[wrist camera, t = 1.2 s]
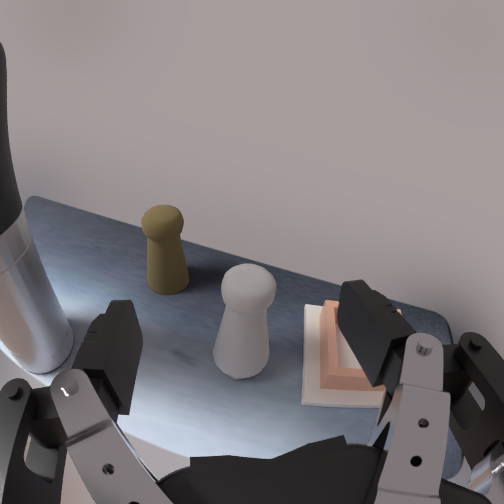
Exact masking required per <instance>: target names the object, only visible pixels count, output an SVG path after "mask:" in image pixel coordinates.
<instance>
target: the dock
mask: <svg viewBox="0 0 504 504" xmlns="http://www.w3.org/2000/svg"><path fill="white" fill-rule="evenodd" d="M338 305H339V302H337V301H329V300H325V303H324V305H323V307H322V306H315V305H308V304H305V307H304V348H303V375H302V396H301V405H309V406H323V407H343V408H380V405H381V402H382V398H383V394H384V392H385V390H386V387H385V386H384V384H383V385H380V386H377V387H372V386H371V384H370V382H369V380H368V378H367V377H366V375H365V373H364V371H363V369H362V368H361V366H360V364H359V362H358V361H357V359H356V357H355V355H354V354H353V352H352V350H351V348H350V347H349V345H348V343H347V341H346V340H345V338H344V336H343V334H342V333H341V331H340V329H339V327H338V323H337V311H338ZM397 310H398V312H399V313H400V314H401V311H400V309H397ZM401 315H402V314H401Z"/></svg>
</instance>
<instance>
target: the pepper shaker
mask: <svg viewBox="0 0 504 504" xmlns="http://www.w3.org/2000/svg"><path fill="white" fill-rule="evenodd" d="M183 224H184V220H183V217H182V214H181V212H180V211H179V210H178V209H177V208H176V207H173V206H170V205H158V206H154V207H152V208H150V209H148V210H147V211H146V212H145V213H144V216H143V217H142V230H143V232H144V234H145V236H146V237H147V281H148V286H149V287H150V289H151V290H153V291H154V292H155V293H158V294H161V295H171V294H176V293H178V292H181V291H182V290H183V289H185V288H186V287H187V285H188V283H189V274H188V270H187V265H186V261H185V256H184V252H183V247H182V242H181V238H180V233H181V232H182V228H183Z"/></svg>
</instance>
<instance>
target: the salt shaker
mask: <svg viewBox="0 0 504 504" xmlns="http://www.w3.org/2000/svg"><path fill="white" fill-rule="evenodd" d="M275 291H276V281H275V279H274V277H273V275H272V274H271V273H269V272H268V271H267V270H266V269H264V268H263V267H261V266H258V265H255V264H241V265H237V266H234V267H232V268H231V269H230V270H228V271H227V272H226V273H225V275H224V278H223V281H222V285H221V293H222V297H223V301H224V303H225V304H226V308H225V311H224V314H223V318H222V321H221V325H220V328H219V331H218V335H217V338H216V342H215V345H214V348H213V351H212V352H213V356H214V360H215V364H216V365H217V366H218V367H219V369H220V370H221V371H222V372H223V373H225V374H227V375H229V376H230V377H232V378H233V379H235V380H238V379H243V378H249V377H253V376H255V375H257V374H259V373H260V372H261V371H262V369H263V368H264V367H265V366H266V364H267V363H268V358H269V353H270V350H269V335H268V321H267V308H268V307H269V306H270V305H271V304H272V302H273V300H274V297H275Z"/></svg>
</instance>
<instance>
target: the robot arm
mask: <svg viewBox="0 0 504 504" xmlns="http://www.w3.org/2000/svg"><path fill="white" fill-rule="evenodd" d="M337 323H338V327H339V329H340V331H341V333H342V334H343V336H344V338H345V340H346V341H347V343H348V345H349V347H350V348H351V350H352V352H353V354H354V355H355V357H356V359H357V361H358V362H359V364H360V366H361V368H362V369H363V371H364V373H365V375H366V377H367V378H368V380H369V382H370V384H371V386H372V387H377V386H380V385H383V384H384V386H385V387H386V390H385V392H384V394H383V398H382V402H381V405H380V409H379V413H378V416H377V419H376V423H375V426H374V429H373V432H372V435H371V437H370V439H369V441H368V443H367V445H362V444H347V443H346V440H345V438H344V435H342V436H338V437H334V438H330V439H326V440H322V441H318V442H314V443H309V444H306V445H304V446H302V447H300V448H297V449H295V450H293V451H290V452H288V453H286V454H283V455H281V456H278V457H276V458H273V459H259V458H248V457H239V456H231V455H225V456H207V457H190V466H189V467H185V468H182V469H179V470H176V471H174V472H172V473H170V474H168V475H166V476H165V477H163V478H161V479H160V480H159V479H158V478H157V477H156V476H155V475H154V473H153V472H152V471H151V470H150V469H149V468H148V466H147V465H146V464H145V462H144V461H143V460H142V459H141V457H140V456H139V454H138V453H137V452H136V450H135V449H134V448H133V446H132V445H131V443H130V442H129V440H128V439H127V437H126V436H125V435H124V433H123V431H122V430H121V428H120V427H119V425H118V424H117V418H118V414H120V415H129V412H130V406H131V401H132V395H133V390H134V385H135V379H136V374H137V370H138V365H139V360H140V356H141V351H142V346H143V339H142V332H141V329H140V326H139V322H138V319H137V316H136V312H135V309H134V305H133V303H132V301H131V300H112V301H111V302H110V304H109V306H108V309H107V311H106V313H105V314H100V315H99V316H98V317H97V318H96V319H95V320H94V321H93V322H92V323H91V325H90V327H89V329H88V331H87V334H86V336H85V338H84V342H82V345H81V347H80V349H79V351H78V354H77V356H76V358H75V361H74V363H73V366H72V368H71V369H69V370H66V371H63V372H61V373H60V374H58V375H57V376H56V377H55V378H54V380H53V381H52V383H51V386H48V387H43V388H36V389H32V388H31V386H30V385H29V383H28V382H27V381H25V380H24V379H21V378H17V379H13V380H11V381H9V382H7V383H6V384H5V385H4V386H3V388H2V389H1V391H0V504H60V501H61V490H62V482H63V474H64V467H65V460H66V454H67V450H68V452H69V455H70V457H71V459H72V461H73V463H74V465H75V467H76V469H77V471H78V473H79V475H80V477H81V478H82V481H83V482H84V484H85V486H86V488H87V490H88V491H89V493H90V495H91V496H92V498H93V500H94V501H95V503H96V504H504V360H503V359H502V358H501V356H500V355H499V354H498V353H497V351H496V350H495V349H494V348H493V347H492V345H491V344H490V343H489V342H488V341H487V340H486V339H485V338H484V337H483V336H481V335H480V334H477V333H474V332H467V333H464V334H463V335H462V336H461V337H460V340H459V342H458V344H453V345H442V344H441V343H440V342H439V340H438V339H436V338H435V337H433V336H431V335H429V334H426V333H416V331H415V330H414V329H413V328H412V327H411V326H410V324H409V323H408V322H407V321H406V320H405V318H404V317H403V316H402V315H401V314H400V313H399V312H398V310H397V309H396V308H395V307H394V306H392V304H391V302H390V301H389V300H388V299H387V298H386V297H385V296H384V295H382V294H380V293H379V292H377V291H375V290H371V289H370V287H369V286H368V285H367V284H366V283H365V282H364V281H363V280H354V281H346V282H343V284H342V287H341V293H340V299H339V305H338V311H337ZM0 340H1V341H2V342H3V344H4V345H5V346H6V348H7V349H8V350H9V352H10V353H11V354H12V355H13V357H14V358H15V359H16V360H17V361H18V363H19V364H20V365H21V366H22V367H23V368H24V369H25V370H27V371H29V372H32V373H37V374H42V373H47V372H50V371H52V370H54V369H56V368H57V367H59V366H60V365H61V364H62V363H63V362H64V361H65V360H66V358H67V357H68V355H69V354H70V351H71V349H72V346H73V342H74V335H73V330H72V328H71V326H70V324H69V322H68V320H67V318H66V316H65V314H64V312H63V310H62V308H61V306H60V304H59V301H58V299H57V297H56V295H55V293H54V291H53V288H52V286H51V284H50V282H49V279H48V277H47V275H46V272H45V270H44V267H43V265H42V262H41V260H40V257H39V254H38V252H37V249H36V246H35V243H34V240H33V237H32V235H31V232H30V229H29V226H28V223H27V219H26V216H25V213H24V209H23V206H22V202H21V198H20V195H19V191H18V188H17V183H16V179H15V174H14V169H13V164H12V159H11V152H10V145H9V137H8V125H7V70H6V57H5V52H4V49H3V46H2V44H1V43H0ZM472 382H474V383H475V385H476V386H477V388H478V389H479V391H480V392H481V394H482V395H483V397H484V399H485V408H484V410H483V411H482V410H481V408H480V407H479V405H478V404H477V402H476V401H475V399H474V397H473V396H472V394H471V393H470V391H469V390H468V388H469V386H470V385H471V383H472ZM448 427H450V429H451V431H452V433H453V435H454V436H455V438H456V440H457V442H458V444H459V446H460V448H461V450H462V452H463V454H464V456H465V458H466V460H467V462H468V464H469V466H470V468H471V470H472V473H471V480H470V481H469V482H468V485H467V487H468V488H465V487H462V486H459V485H457V484H454V483H452V482H449V481H447V480H445V479H442V478H441V476H442V471H443V465H444V459H445V453H446V445H447V437H448ZM28 435H29V436H30V437H31V442H30V446H29V450H28V454H27V458H26V463H25V462H24V451H25V447H26V443H27V439H28Z"/></svg>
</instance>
